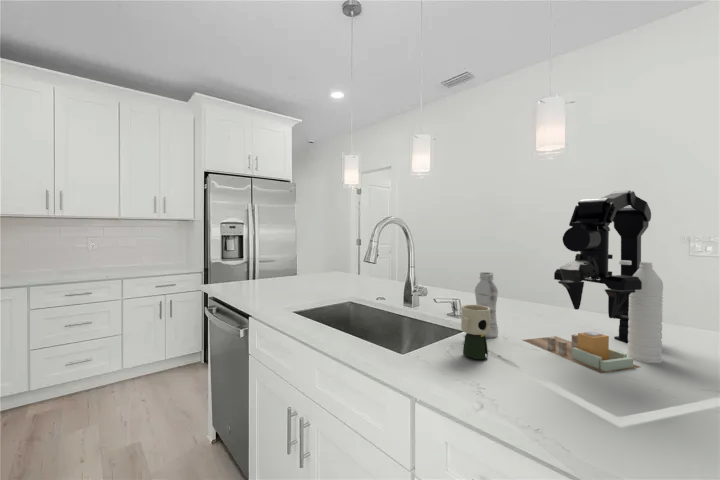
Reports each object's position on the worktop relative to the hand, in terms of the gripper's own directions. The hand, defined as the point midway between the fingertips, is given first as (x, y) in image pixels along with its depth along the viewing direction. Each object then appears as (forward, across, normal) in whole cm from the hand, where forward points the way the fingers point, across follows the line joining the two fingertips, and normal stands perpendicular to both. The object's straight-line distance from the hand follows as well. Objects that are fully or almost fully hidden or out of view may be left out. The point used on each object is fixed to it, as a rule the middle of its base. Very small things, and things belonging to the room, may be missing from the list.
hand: (593, 313), depth 84 cm
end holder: (+11, +3, 0) cm, 11 cm away
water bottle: (+13, +2, +12) cm, 18 cm away
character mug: (+13, -12, -25) cm, 31 cm away
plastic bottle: (+13, -24, -13) cm, 30 cm away
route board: (+12, -5, 0) cm, 13 cm away
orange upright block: (+11, 0, 0) cm, 11 cm away
